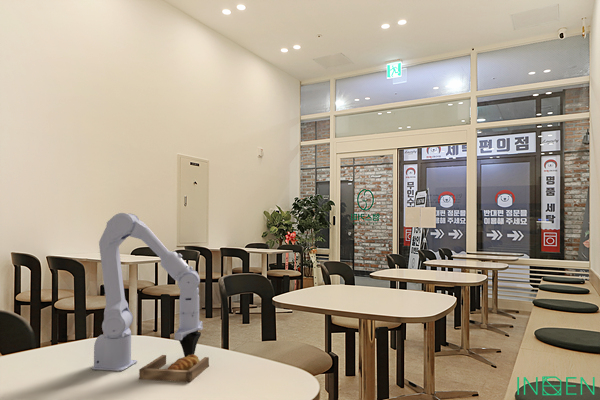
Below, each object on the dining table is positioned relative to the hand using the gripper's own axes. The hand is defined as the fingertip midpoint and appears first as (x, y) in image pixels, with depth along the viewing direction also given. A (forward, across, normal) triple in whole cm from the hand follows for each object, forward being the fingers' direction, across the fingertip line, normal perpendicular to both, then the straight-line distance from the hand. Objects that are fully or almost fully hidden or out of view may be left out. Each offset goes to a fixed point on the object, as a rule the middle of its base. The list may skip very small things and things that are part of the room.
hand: (189, 358), depth 124 cm
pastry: (+2, -7, -2) cm, 7 cm away
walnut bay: (+1, -8, 0) cm, 8 cm away
